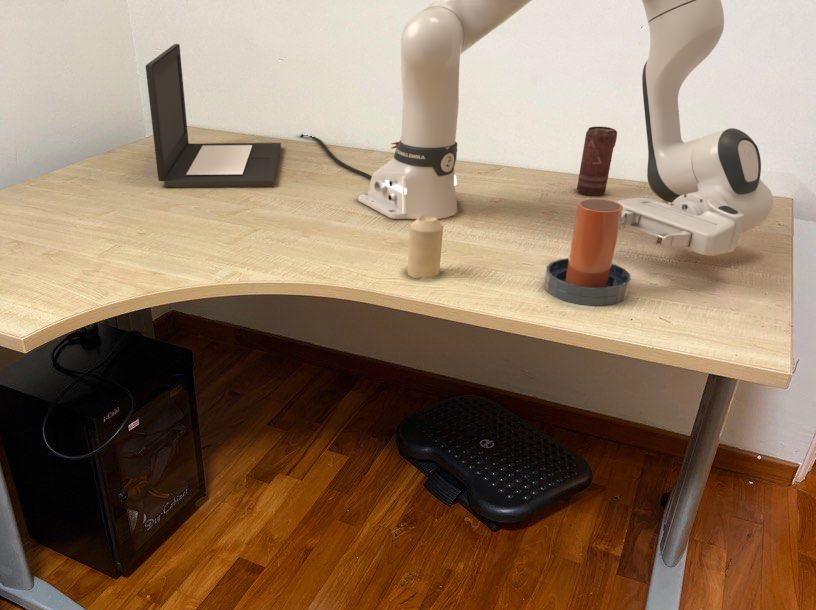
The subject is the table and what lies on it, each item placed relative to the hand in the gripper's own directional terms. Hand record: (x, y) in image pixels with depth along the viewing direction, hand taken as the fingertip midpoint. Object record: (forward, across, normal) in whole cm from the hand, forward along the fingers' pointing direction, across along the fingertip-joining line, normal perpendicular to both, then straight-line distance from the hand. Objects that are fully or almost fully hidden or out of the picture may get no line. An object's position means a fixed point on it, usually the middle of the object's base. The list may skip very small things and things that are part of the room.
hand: (636, 232), depth 124 cm
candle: (+28, -19, +9) cm, 35 cm away
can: (-32, -40, +9) cm, 52 cm away
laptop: (+32, -102, +9) cm, 107 cm away
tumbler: (+10, 0, +8) cm, 12 cm away
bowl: (+10, 0, +8) cm, 13 cm away
